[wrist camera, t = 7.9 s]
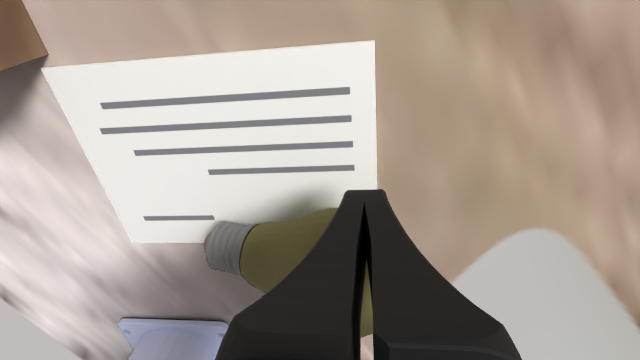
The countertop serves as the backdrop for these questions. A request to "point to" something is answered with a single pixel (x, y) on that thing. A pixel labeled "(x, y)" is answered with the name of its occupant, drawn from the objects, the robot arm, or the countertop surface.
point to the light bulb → (274, 252)
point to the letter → (224, 134)
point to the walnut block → (18, 35)
